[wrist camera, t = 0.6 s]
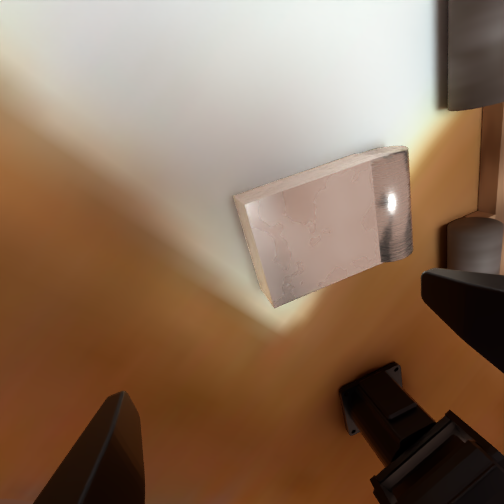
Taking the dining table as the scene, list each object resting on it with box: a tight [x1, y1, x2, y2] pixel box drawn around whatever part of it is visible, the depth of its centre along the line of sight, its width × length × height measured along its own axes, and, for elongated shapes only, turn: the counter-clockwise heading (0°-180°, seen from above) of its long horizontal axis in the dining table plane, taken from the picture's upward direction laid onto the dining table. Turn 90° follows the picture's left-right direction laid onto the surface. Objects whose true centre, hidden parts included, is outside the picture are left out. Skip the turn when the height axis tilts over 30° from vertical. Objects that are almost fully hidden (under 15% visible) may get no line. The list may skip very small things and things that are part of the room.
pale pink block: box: [233, 146, 413, 308], centre depth 20 cm, size 7×11×4 cm, turn 106°
